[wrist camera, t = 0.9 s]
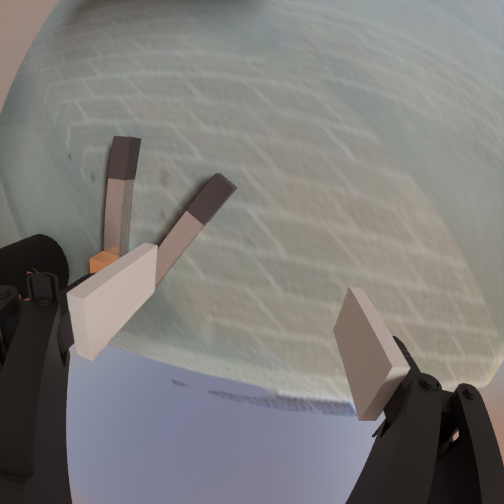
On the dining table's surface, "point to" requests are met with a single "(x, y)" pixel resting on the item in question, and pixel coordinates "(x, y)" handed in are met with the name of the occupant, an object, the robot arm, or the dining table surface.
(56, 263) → the coffee jar
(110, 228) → the tongs lower
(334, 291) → the dining table surface
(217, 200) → the tongs upper
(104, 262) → the tab
